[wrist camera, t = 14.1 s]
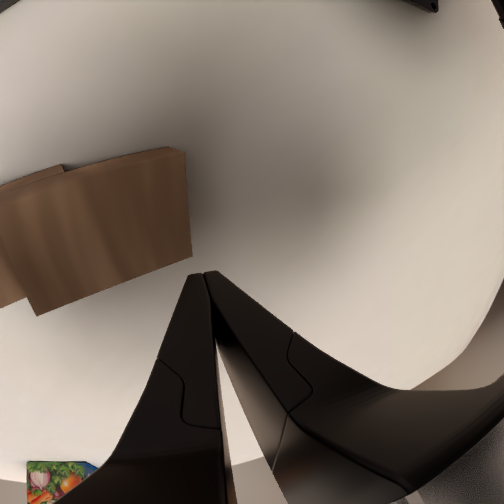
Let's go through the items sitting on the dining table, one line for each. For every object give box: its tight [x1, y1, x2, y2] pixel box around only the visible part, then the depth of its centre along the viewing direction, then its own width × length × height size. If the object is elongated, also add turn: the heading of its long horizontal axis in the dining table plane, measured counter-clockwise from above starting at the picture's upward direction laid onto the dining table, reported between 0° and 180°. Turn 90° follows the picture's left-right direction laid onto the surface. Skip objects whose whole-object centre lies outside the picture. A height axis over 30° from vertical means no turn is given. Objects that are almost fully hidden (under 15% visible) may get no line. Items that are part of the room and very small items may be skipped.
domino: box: [0, 164, 64, 308], centre depth 10 cm, size 2×5×8 cm
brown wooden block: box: [0, 147, 193, 316], centre depth 11 cm, size 2×5×8 cm
